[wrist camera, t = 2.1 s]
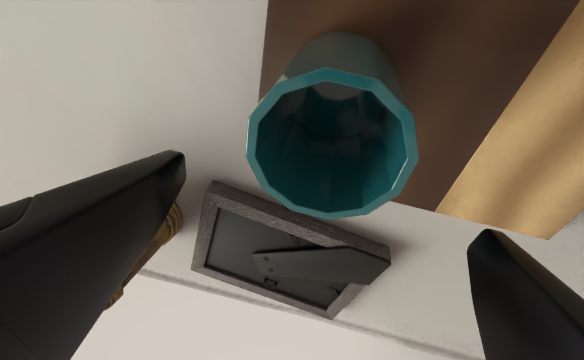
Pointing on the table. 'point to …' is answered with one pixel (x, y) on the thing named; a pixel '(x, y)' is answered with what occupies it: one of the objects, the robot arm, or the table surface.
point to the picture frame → (283, 252)
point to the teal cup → (334, 130)
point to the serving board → (471, 98)
